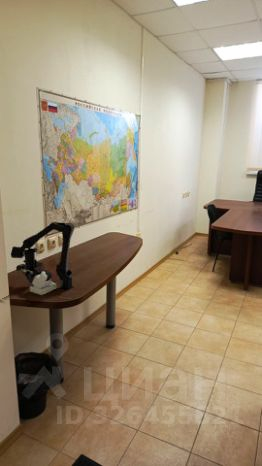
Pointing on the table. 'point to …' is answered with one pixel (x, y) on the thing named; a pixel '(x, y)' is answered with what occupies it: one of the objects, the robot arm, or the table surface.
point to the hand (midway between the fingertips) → (30, 283)
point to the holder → (44, 290)
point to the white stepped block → (42, 280)
